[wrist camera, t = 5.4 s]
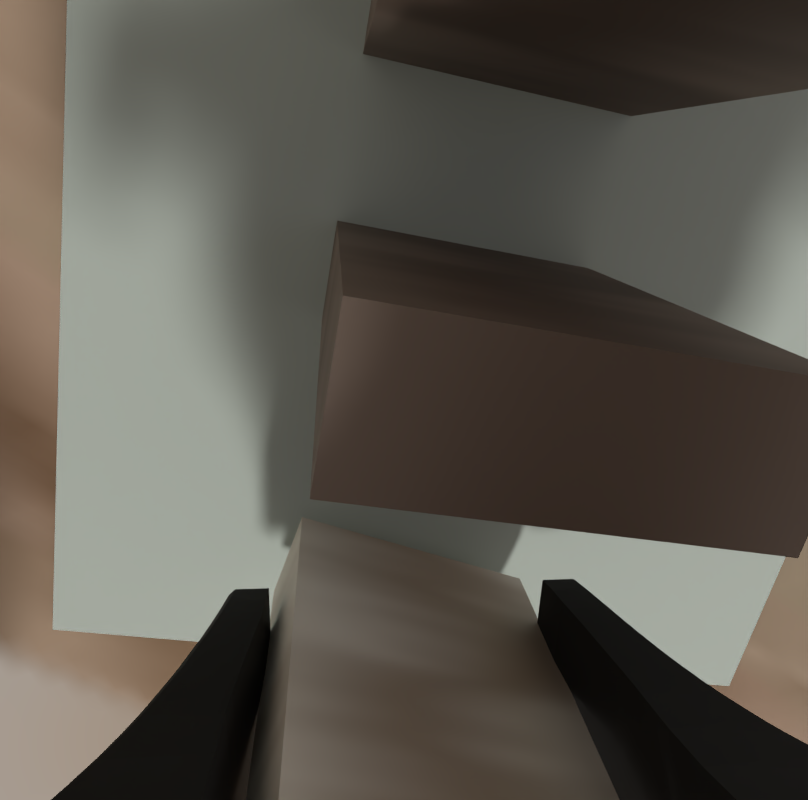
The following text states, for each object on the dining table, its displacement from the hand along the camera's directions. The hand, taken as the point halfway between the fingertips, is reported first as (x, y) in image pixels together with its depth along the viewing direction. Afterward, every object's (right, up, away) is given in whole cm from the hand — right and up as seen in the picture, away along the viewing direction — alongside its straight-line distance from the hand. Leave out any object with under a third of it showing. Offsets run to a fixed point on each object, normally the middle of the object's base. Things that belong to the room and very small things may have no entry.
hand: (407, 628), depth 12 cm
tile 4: (+1, +6, 0) cm, 6 cm away
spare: (0, 0, +1) cm, 1 cm away
